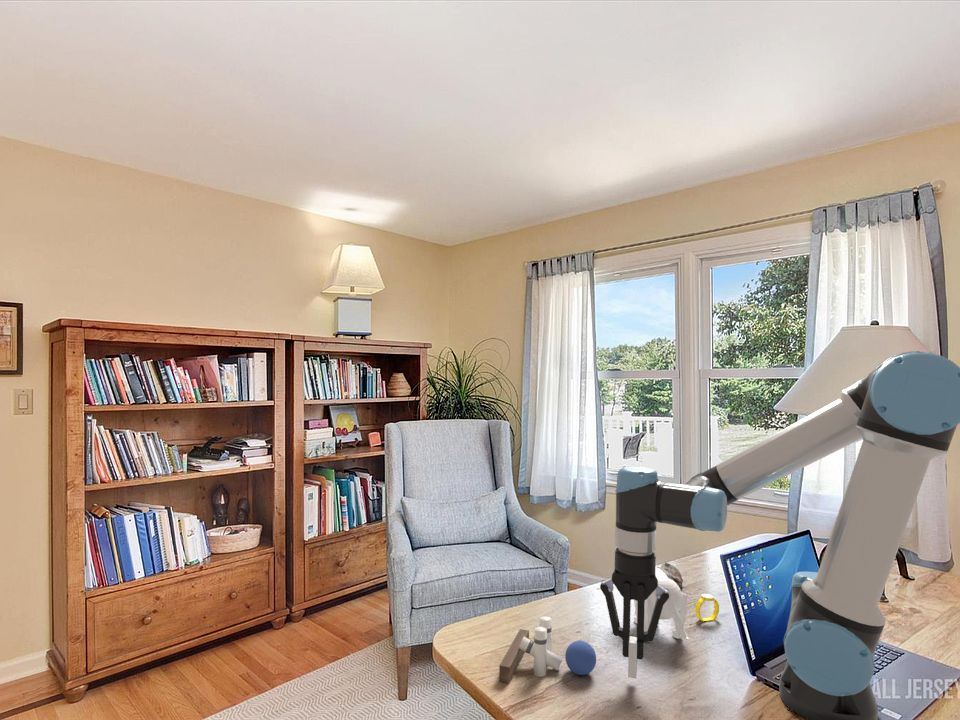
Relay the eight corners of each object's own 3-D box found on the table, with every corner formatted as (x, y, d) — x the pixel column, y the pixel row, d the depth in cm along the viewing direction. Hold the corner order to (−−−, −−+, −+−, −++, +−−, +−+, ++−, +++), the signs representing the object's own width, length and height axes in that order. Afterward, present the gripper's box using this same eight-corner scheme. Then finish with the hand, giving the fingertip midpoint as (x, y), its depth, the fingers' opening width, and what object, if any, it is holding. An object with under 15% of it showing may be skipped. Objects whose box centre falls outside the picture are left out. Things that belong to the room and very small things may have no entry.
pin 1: (553, 661, 115) (554, 619, 115) (544, 665, 114) (545, 622, 114) (545, 656, 117) (545, 615, 117) (536, 660, 116) (536, 618, 116)
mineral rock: (671, 598, 150) (672, 581, 150) (643, 589, 155) (643, 573, 155) (691, 582, 161) (692, 567, 161) (664, 575, 166) (664, 560, 166)
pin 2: (549, 674, 110) (549, 630, 110) (539, 678, 109) (540, 633, 109) (540, 668, 112) (541, 625, 112) (530, 672, 111) (531, 628, 111)
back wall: (528, 644, 122) (529, 630, 122) (509, 683, 107) (509, 667, 107) (519, 642, 123) (520, 628, 123) (499, 681, 107) (499, 665, 108)
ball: (556, 658, 113) (579, 682, 112) (562, 657, 108) (586, 682, 106) (575, 634, 116) (598, 658, 114) (581, 632, 111) (605, 656, 109)
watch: (712, 617, 138) (714, 593, 139) (720, 622, 136) (722, 597, 136) (692, 618, 137) (694, 593, 137) (699, 623, 134) (701, 598, 134)
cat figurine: (710, 657, 118) (712, 577, 119) (666, 663, 116) (668, 581, 116) (646, 607, 143) (647, 541, 143) (608, 611, 140) (609, 543, 140)
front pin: (563, 656, 112) (524, 633, 114) (559, 667, 110) (519, 644, 113) (560, 661, 114) (522, 639, 116) (556, 673, 112) (517, 650, 114)
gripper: (671, 547, 109) (668, 670, 109) (602, 539, 114) (599, 658, 113) (671, 560, 102) (668, 691, 102) (598, 551, 106) (595, 677, 106)
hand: (632, 674), depth 108 cm, fingers closed
